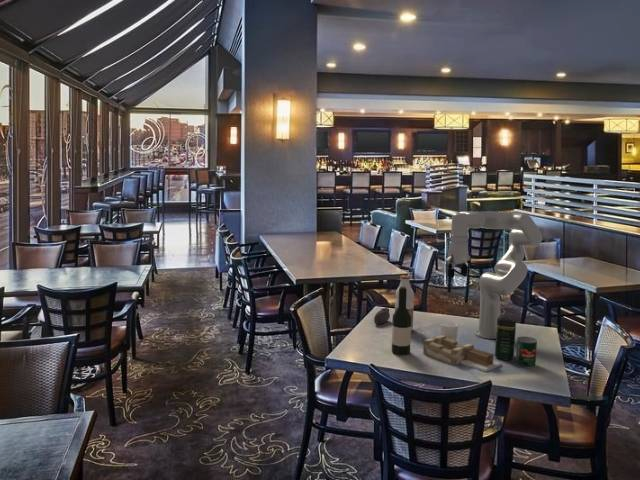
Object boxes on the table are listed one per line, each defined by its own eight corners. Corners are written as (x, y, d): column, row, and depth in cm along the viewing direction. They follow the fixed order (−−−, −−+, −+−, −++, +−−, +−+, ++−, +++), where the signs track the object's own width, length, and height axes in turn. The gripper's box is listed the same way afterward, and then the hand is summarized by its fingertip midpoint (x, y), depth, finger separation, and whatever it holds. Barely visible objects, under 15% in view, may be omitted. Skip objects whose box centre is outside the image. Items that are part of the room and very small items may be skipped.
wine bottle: (411, 350, 243) (413, 285, 239) (408, 356, 235) (410, 289, 231) (393, 348, 246) (395, 284, 241) (389, 354, 238) (391, 288, 234)
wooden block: (472, 356, 233) (473, 347, 232) (493, 363, 225) (493, 354, 224) (465, 359, 229) (466, 350, 229) (486, 366, 222) (486, 356, 221)
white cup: (457, 348, 246) (458, 327, 244) (439, 347, 247) (440, 326, 246) (456, 343, 254) (457, 322, 252) (439, 341, 255) (440, 321, 254)
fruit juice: (415, 332, 270) (417, 277, 266) (397, 332, 268) (399, 278, 264) (409, 326, 279) (411, 274, 275) (391, 327, 277) (393, 274, 273)
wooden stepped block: (441, 347, 247) (442, 334, 246) (472, 358, 234) (473, 344, 233) (423, 353, 239) (423, 340, 238) (454, 364, 225) (455, 350, 225)
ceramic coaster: (477, 357, 235) (477, 355, 235) (501, 365, 226) (501, 363, 225) (460, 363, 227) (460, 361, 227) (485, 371, 218) (485, 369, 218)
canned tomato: (525, 368, 222) (526, 343, 220) (511, 362, 229) (513, 337, 227) (539, 366, 225) (541, 341, 223) (525, 360, 232) (527, 335, 231)
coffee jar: (513, 361, 230) (515, 320, 227) (494, 359, 233) (496, 317, 230) (514, 354, 239) (516, 314, 236) (495, 352, 242) (498, 312, 239)
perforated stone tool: (378, 327, 277) (379, 314, 277) (370, 325, 280) (370, 312, 279) (392, 320, 290) (392, 308, 289) (383, 318, 293) (383, 306, 292)
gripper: (463, 237, 256) (462, 272, 259) (440, 240, 246) (439, 276, 248) (477, 239, 251) (475, 274, 253) (454, 242, 240) (452, 279, 242)
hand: (457, 275), depth 251 cm, fingers open, 9 cm apart
